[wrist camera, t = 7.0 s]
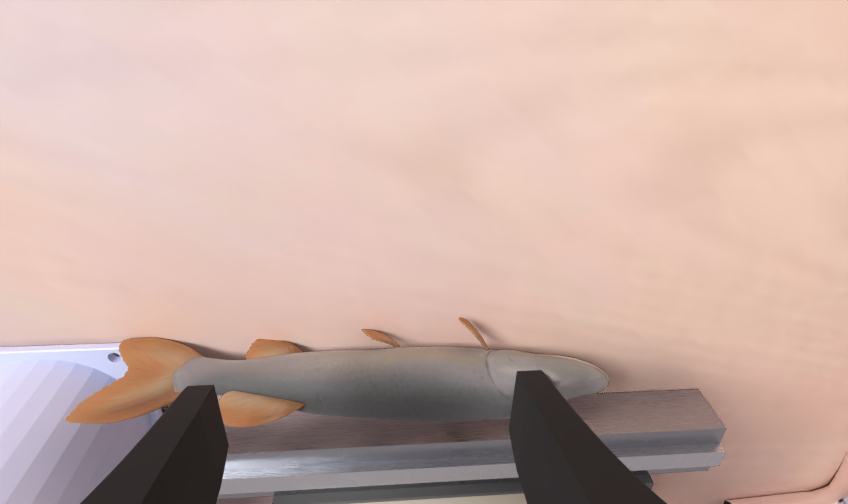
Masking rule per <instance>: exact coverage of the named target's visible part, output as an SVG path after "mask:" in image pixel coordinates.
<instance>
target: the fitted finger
mask: <svg viewBox="0 0 848 504" xmlns="http://www.w3.org/2000/svg"><path fill="white" fill-rule="evenodd" d="M636 476H637V477H638V478H639V479H640V480H641V481H642V482H643V483H644V484H645V485H646V486H647V487H648V488H649V489H652V486H653V481H652V479H651V477H650V475H649V474H641V475H636ZM272 504H527V502H526V499H525V495H524V492H523V489H522V486H521V483H520V482H503V483H486V484H469V485H452V486H434V487H417V488H400V489H383V490H366V491H348V492H331V493H314V494H297V495H280V496H274V497H273V503H272Z"/></svg>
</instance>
